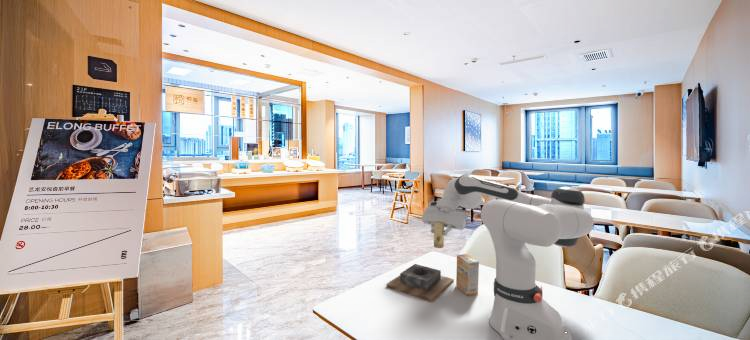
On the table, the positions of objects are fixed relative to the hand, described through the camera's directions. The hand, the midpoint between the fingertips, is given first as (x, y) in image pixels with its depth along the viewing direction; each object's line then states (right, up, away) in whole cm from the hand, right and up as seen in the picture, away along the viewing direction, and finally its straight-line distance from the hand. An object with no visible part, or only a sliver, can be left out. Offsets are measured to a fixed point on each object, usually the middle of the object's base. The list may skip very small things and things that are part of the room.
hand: (438, 233), depth 136 cm
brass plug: (0, -6, +1) cm, 6 cm away
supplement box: (+8, -19, -17) cm, 27 cm away
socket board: (-10, -18, -12) cm, 24 cm away
